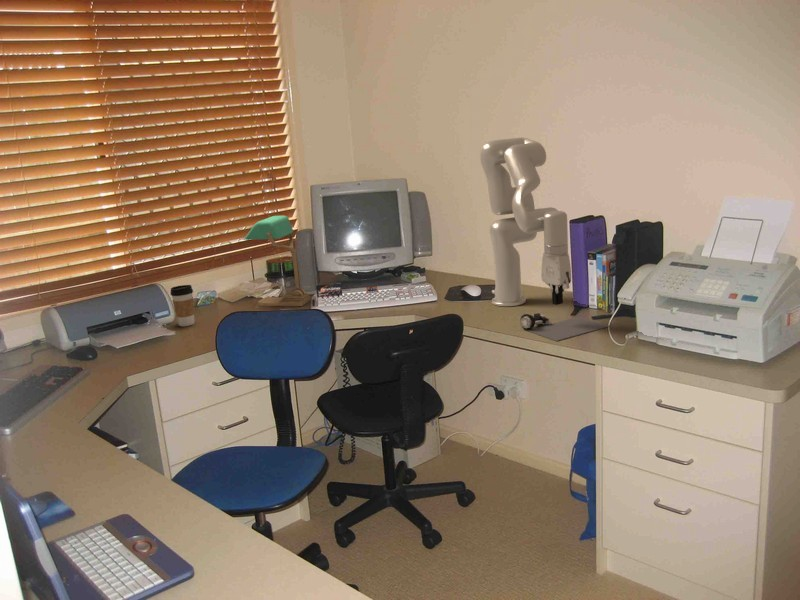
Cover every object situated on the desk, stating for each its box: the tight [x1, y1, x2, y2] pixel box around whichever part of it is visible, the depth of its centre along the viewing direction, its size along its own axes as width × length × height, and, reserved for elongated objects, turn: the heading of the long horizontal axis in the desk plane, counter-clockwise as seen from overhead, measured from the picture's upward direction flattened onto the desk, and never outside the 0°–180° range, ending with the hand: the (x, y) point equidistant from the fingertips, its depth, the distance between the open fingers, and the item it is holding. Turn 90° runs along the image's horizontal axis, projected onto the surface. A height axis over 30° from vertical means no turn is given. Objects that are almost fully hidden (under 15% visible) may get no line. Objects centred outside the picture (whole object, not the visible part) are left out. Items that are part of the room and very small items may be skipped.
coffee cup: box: [169, 284, 196, 327], centre depth 297 cm, size 8×8×15 cm
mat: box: [527, 316, 610, 342], centre depth 255 cm, size 14×22×1 cm, turn 119°
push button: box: [519, 312, 553, 331], centre depth 259 cm, size 7×5×10 cm
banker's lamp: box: [243, 215, 311, 307], centre depth 314 cm, size 16×21×35 cm
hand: (557, 303), depth 257 cm, fingers closed
